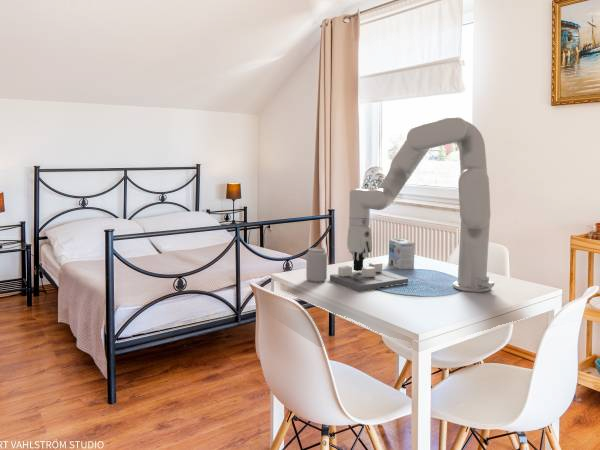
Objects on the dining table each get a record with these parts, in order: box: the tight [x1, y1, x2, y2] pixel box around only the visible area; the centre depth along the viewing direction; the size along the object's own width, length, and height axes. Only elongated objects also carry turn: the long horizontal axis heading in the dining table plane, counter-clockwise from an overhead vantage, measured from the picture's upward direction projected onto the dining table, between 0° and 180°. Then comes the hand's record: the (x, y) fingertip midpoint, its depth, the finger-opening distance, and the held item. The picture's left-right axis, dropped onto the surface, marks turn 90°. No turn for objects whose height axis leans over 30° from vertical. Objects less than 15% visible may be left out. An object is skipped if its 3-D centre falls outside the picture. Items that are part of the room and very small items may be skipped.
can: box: [305, 247, 328, 283], centre depth 192 cm, size 8×8×12 cm
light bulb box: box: [388, 238, 416, 270], centre depth 217 cm, size 11×7×11 cm, turn 17°
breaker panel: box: [329, 261, 409, 293], centre depth 191 cm, size 18×22×5 cm
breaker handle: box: [361, 266, 376, 277], centre depth 191 cm, size 3×4×3 cm
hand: (358, 270), depth 197 cm, fingers closed
